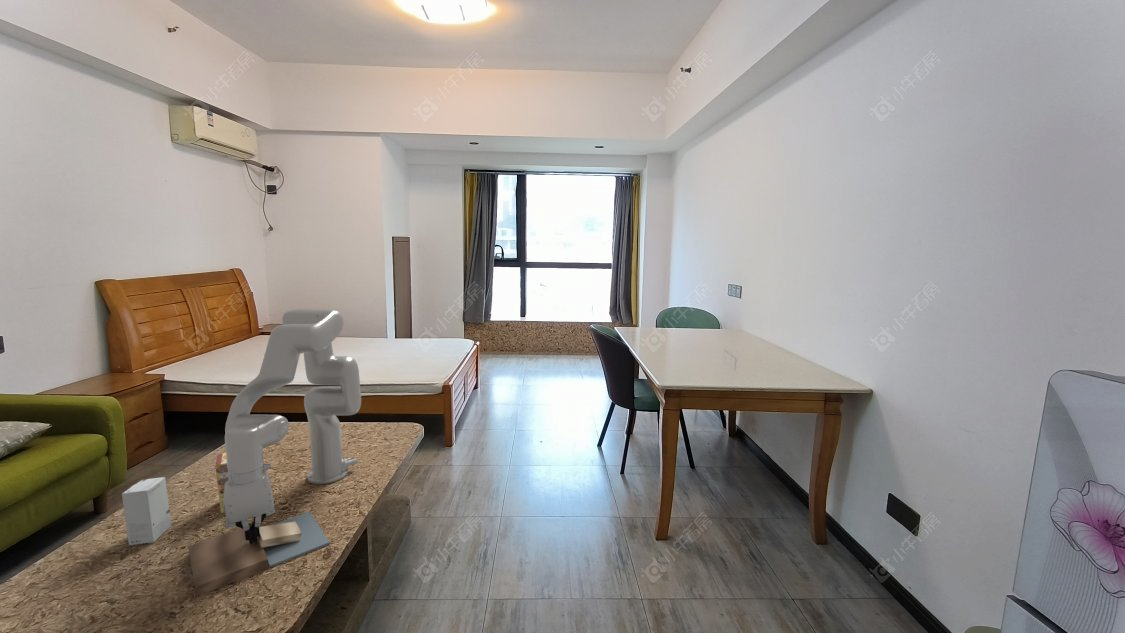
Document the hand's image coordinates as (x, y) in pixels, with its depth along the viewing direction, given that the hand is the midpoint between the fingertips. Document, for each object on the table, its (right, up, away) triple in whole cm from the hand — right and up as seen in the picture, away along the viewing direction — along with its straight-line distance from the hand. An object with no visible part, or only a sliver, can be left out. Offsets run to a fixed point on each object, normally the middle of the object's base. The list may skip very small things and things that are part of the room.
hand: (252, 540), depth 118 cm
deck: (-4, -4, -3) cm, 6 cm away
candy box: (-22, 0, +22) cm, 31 cm away
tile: (+4, -1, +4) cm, 6 cm away
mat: (+6, -2, +6) cm, 9 cm away
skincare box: (-32, -2, +7) cm, 33 cm away
